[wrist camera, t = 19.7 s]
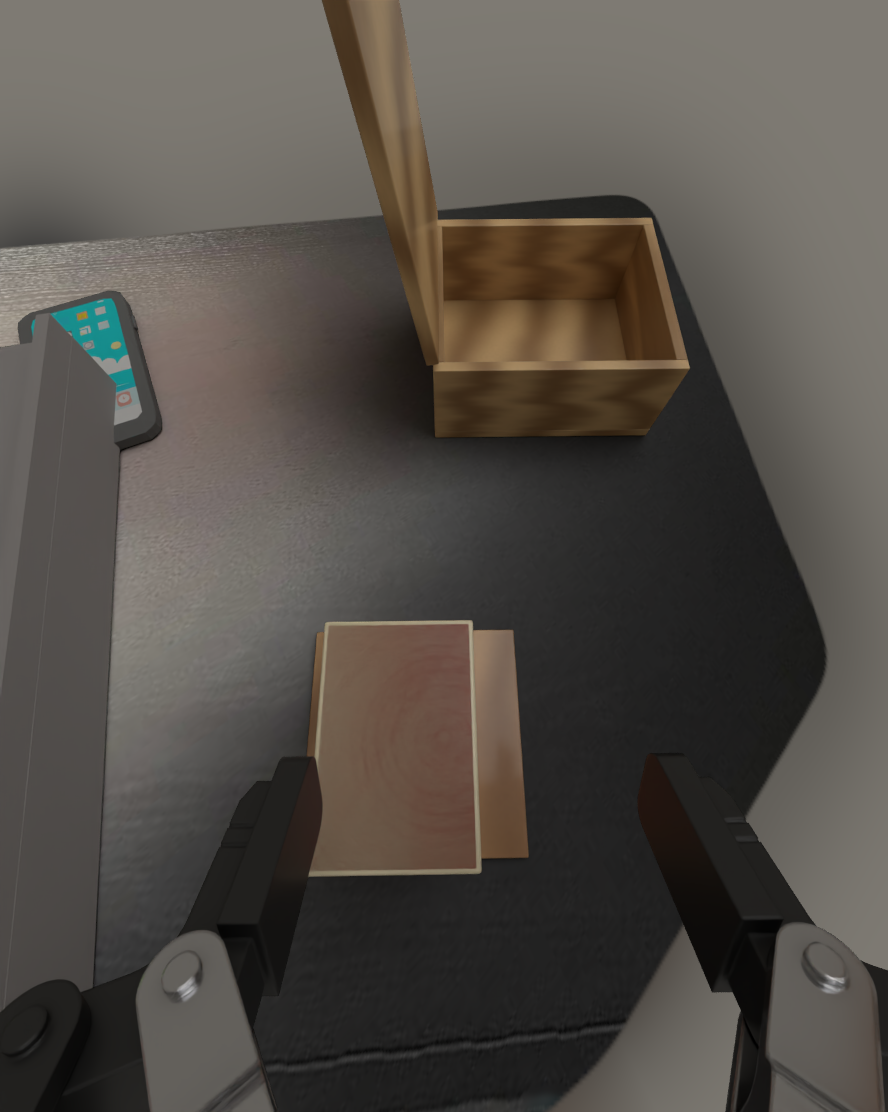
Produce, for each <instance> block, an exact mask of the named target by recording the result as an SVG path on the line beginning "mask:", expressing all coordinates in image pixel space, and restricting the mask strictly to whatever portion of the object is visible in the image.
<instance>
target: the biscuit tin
mask: <svg viewBox="0 0 888 1112" xmlns="http://www.w3.org/2000/svg"><path fill="white" fill-rule="evenodd" d="M314 757H315V759H316V763H317V769H318V775H319V782H320V788H321V794H322V801H323V812H322V821H321V827H320V832H319V836H318V840H317V844H316V848H315V852H314V856H313V860H312V864H311V868H310V872H309V876H308V877H320V876H381V875H443V874H480V873H481V871H482V865H481V837H480V810H479V782H478V754H477V727H476V699H475V671H474V644H473V622H472V621H471V620H446V621H370V622H326V623H325V629H324V641H323V654H322V667H321V680H320V692H319V705H318V718H317V731H316V743H315V756H314Z"/></svg>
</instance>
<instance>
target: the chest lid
mask: <svg viewBox="0 0 888 1112" xmlns="http://www.w3.org/2000/svg"><path fill="white" fill-rule="evenodd" d="M322 3H323V6H324V10H325V13H326V17H327V21H328V24H329V27H330V31H331V34H332V38H333V42H334V45H335V48H336V52H337V56H338V59H339V62H340V66H341V69H342V73H343V76H344V80H345V83H346V87H347V90H348V94H349V97H350V101H351V104H352V108H353V111H354V115H355V118H356V122H357V125H358V129H359V132H360V135H361V139H362V143H363V146H364V150H365V153H366V157H367V160H368V164H369V167H370V171H371V174H372V177H373V181H374V184H375V188H376V192H377V195H378V199H379V202H380V205H381V209H382V212H383V216H384V219H385V223H386V226H387V230H388V233H389V237H390V240H391V244H392V247H393V251H394V254H395V258H396V261H397V265H398V268H399V272H400V275H401V279H402V282H403V286H404V289H405V293H406V296H407V300H408V303H409V307H410V310H411V314H412V317H413V321H414V324H415V328H416V331H417V335H418V338H419V342H420V345H421V349H422V352H423V356H424V359H425V362H426V365H427V366H429V365H436V364H439V297H438V221H437V207H436V201H435V196H434V190H433V185H432V179H431V174H430V168H429V162H428V157H427V152H426V146H425V140H424V135H423V129H422V124H421V118H420V113H419V108H418V102H417V96H416V91H415V85H414V80H413V74H412V69H411V64H410V58H409V52H408V47H407V41H406V36H405V30H404V25H403V20H402V14H401V8H400V3H399V0H322Z"/></svg>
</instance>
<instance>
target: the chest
mask: <svg viewBox="0 0 888 1112" xmlns="http://www.w3.org/2000/svg"><path fill="white" fill-rule="evenodd" d="M437 221H438V297H439V364H436V365H433V383H434V418H435V437H436V438H439V437H528V436H616V435H646V434H647V432H648V431H649V429H650V428H651V426H652V425H653V423H654V422H655V420H656V419H657V417H658V416H659V414H660V413H661V411H662V410H663V408H664V407H665V405H666V404H667V402H668V401H669V399H670V398H671V396H672V395H673V393H674V392H675V390H676V389H677V387H678V386H679V384H680V383H681V381H682V380H683V378H684V377H685V375H686V374H687V372H688V371H689V369H690V367H689V363H688V360H687V355H686V351H685V347H684V344H683V340H682V336H681V332H680V328H679V324H678V320H677V316H676V312H675V308H674V304H673V300H672V297H671V293H670V289H669V285H668V281H667V277H666V273H665V269H664V265H663V261H662V257H661V253H660V250H659V246H658V242H657V238H656V234H655V230H654V226H653V222H652V218H594V219H481V220H437Z"/></svg>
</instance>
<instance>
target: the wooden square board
mask: <svg viewBox="0 0 888 1112" xmlns="http://www.w3.org/2000/svg"><path fill="white" fill-rule="evenodd" d="M323 641H324V632H318V633H317V638H316V650H315V662H314V674H313V686H312V698H311V710H310V722H309V734H308V745H307V756H315V743H316V731H317V718H318V705H319V692H320V680H321V667H322V654H323ZM473 644H474V671H475V699H476V727H477V754H478V782H479V810H480V837H481V859H482V858H528V857H529V853H528V839H527V824H526V809H525V794H524V779H523V765H522V750H521V735H520V720H519V705H518V690H517V676H516V661H515V646H514V631H513V630H473Z"/></svg>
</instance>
